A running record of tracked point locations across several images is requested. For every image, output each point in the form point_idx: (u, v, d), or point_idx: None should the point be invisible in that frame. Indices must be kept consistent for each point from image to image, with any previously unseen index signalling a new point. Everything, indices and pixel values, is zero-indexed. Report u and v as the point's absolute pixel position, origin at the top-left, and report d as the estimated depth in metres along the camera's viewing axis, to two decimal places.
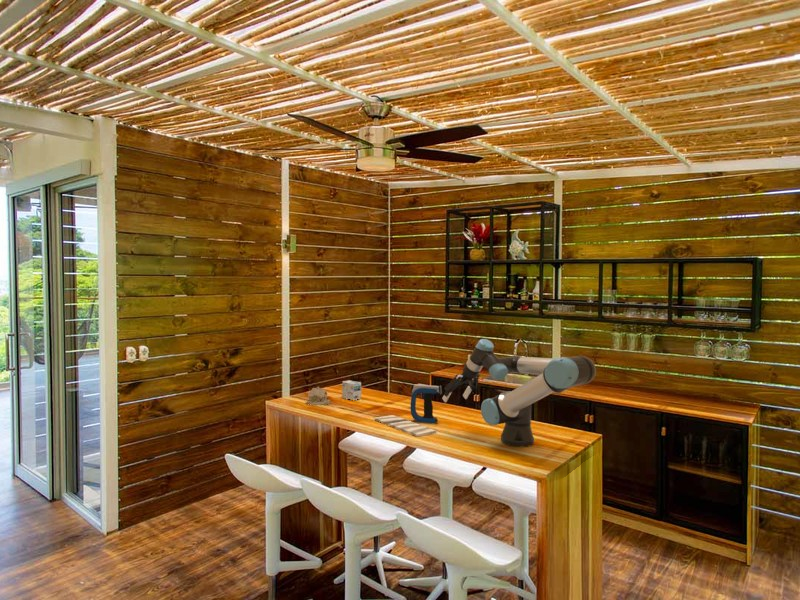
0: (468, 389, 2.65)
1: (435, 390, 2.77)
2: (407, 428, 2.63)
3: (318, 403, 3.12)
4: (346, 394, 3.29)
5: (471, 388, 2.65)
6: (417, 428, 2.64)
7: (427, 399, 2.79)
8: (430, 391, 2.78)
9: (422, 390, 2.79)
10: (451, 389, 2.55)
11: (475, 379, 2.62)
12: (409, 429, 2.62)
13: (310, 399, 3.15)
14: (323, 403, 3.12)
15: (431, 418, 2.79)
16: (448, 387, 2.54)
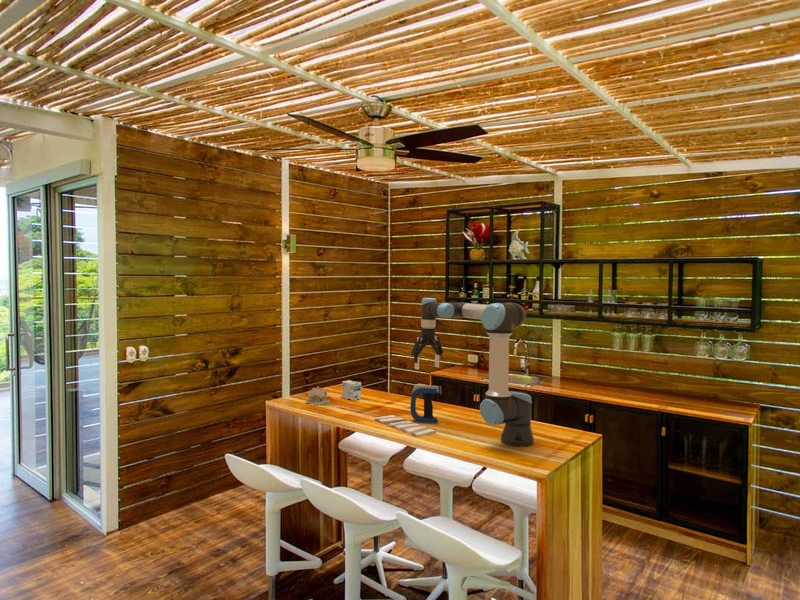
0: (436, 356, 2.84)
1: (435, 390, 2.77)
2: (407, 428, 2.63)
3: (318, 403, 3.12)
4: (346, 394, 3.29)
5: (438, 354, 2.84)
6: (417, 428, 2.64)
7: (427, 399, 2.79)
8: (430, 391, 2.78)
9: (422, 390, 2.79)
10: (417, 353, 2.75)
11: (437, 343, 2.83)
12: (409, 429, 2.62)
13: (310, 399, 3.15)
14: (323, 403, 3.12)
15: (431, 418, 2.79)
16: (413, 351, 2.74)
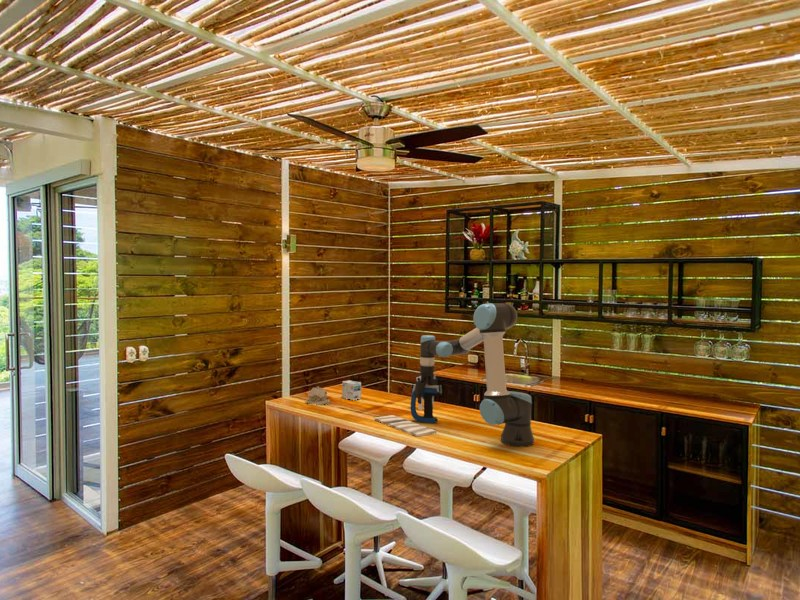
0: None
1: (435, 389, 2.78)
2: (407, 428, 2.63)
3: (318, 403, 3.13)
4: (346, 394, 3.29)
5: None
6: (417, 428, 2.64)
7: (428, 399, 2.80)
8: (430, 390, 2.79)
9: None
10: (420, 394, 2.77)
11: (434, 382, 2.83)
12: (409, 429, 2.62)
13: (310, 399, 3.16)
14: (323, 403, 3.13)
15: (431, 418, 2.79)
16: (416, 392, 2.76)
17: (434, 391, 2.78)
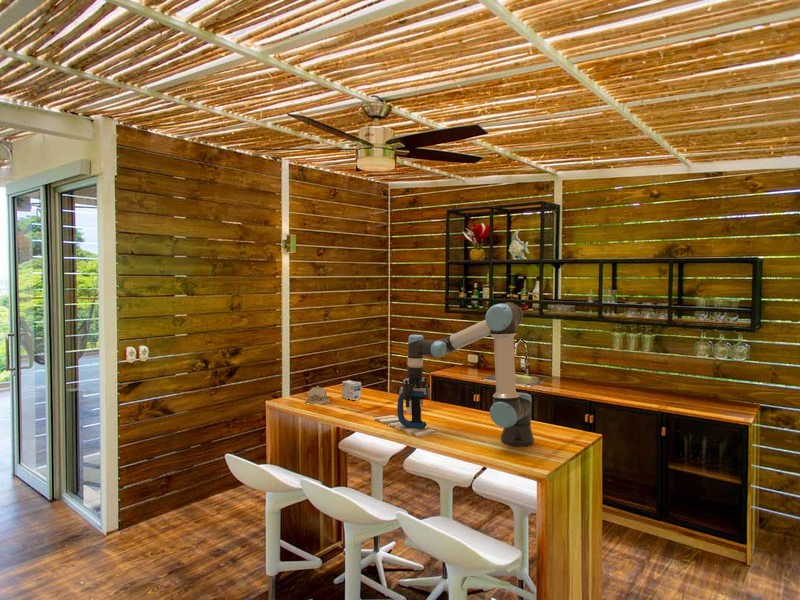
0: None
1: (422, 393, 2.62)
2: (407, 428, 2.63)
3: (318, 402, 3.14)
4: (346, 394, 3.29)
5: None
6: (417, 428, 2.64)
7: (415, 402, 2.64)
8: (417, 394, 2.62)
9: None
10: (408, 397, 2.61)
11: (423, 384, 2.67)
12: (409, 429, 2.62)
13: (310, 398, 3.16)
14: (323, 402, 3.14)
15: (419, 422, 2.63)
16: (404, 395, 2.60)
17: (421, 394, 2.62)
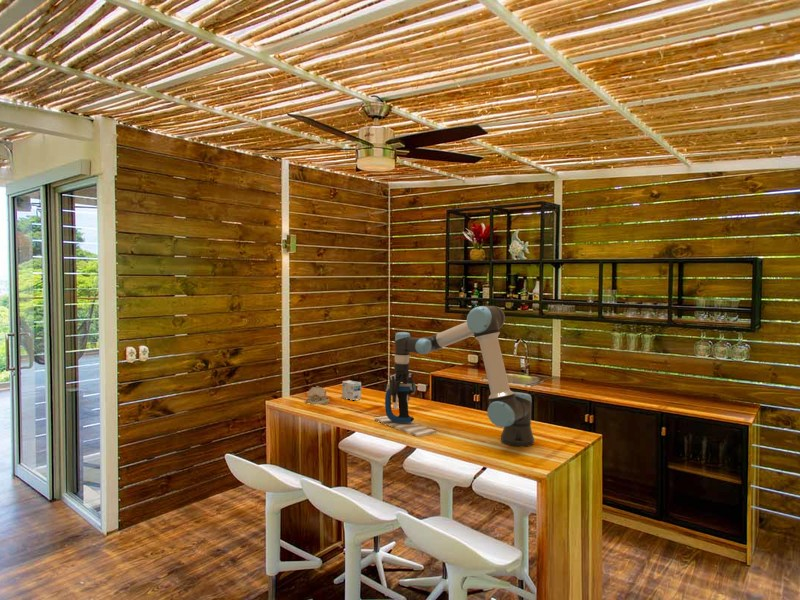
0: None
1: (408, 387, 2.71)
2: (407, 428, 2.63)
3: (318, 402, 3.15)
4: (346, 394, 3.29)
5: None
6: (417, 428, 2.64)
7: (402, 397, 2.72)
8: (403, 389, 2.71)
9: None
10: (395, 392, 2.70)
11: (409, 380, 2.76)
12: (409, 429, 2.62)
13: (310, 398, 3.17)
14: (323, 402, 3.15)
15: (406, 417, 2.71)
16: (391, 391, 2.69)
17: (407, 389, 2.71)
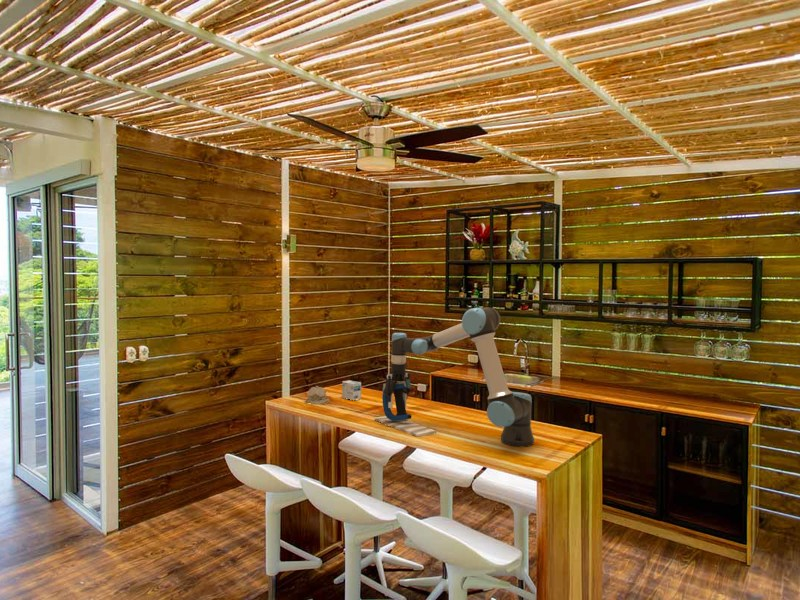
0: (403, 395, 2.78)
1: (402, 384, 2.72)
2: (407, 428, 2.63)
3: (318, 402, 3.15)
4: (346, 394, 3.29)
5: (405, 392, 2.78)
6: (417, 428, 2.64)
7: (397, 395, 2.74)
8: (398, 386, 2.73)
9: None
10: (390, 392, 2.71)
11: None
12: (409, 429, 2.62)
13: (310, 398, 3.17)
14: (323, 402, 3.16)
15: (403, 414, 2.71)
16: (386, 390, 2.71)
17: (401, 386, 2.72)
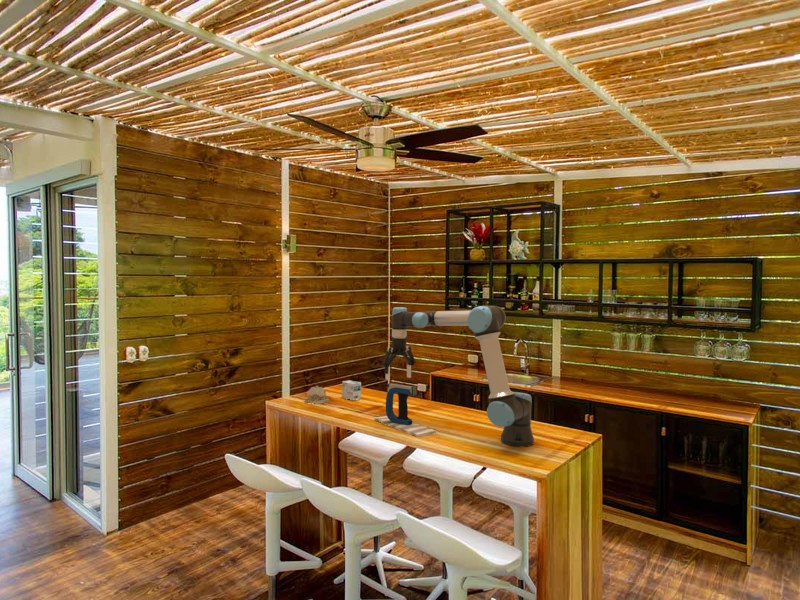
0: (408, 367, 2.79)
1: (408, 391, 2.68)
2: (407, 428, 2.63)
3: (318, 402, 3.16)
4: (346, 394, 3.29)
5: (410, 364, 2.79)
6: (417, 428, 2.64)
7: (401, 399, 2.71)
8: (403, 391, 2.69)
9: (396, 390, 2.71)
10: (388, 363, 2.70)
11: (409, 353, 2.78)
12: (409, 429, 2.62)
13: (309, 398, 3.17)
14: (323, 401, 3.16)
15: (404, 419, 2.70)
16: (384, 361, 2.69)
17: (407, 392, 2.68)
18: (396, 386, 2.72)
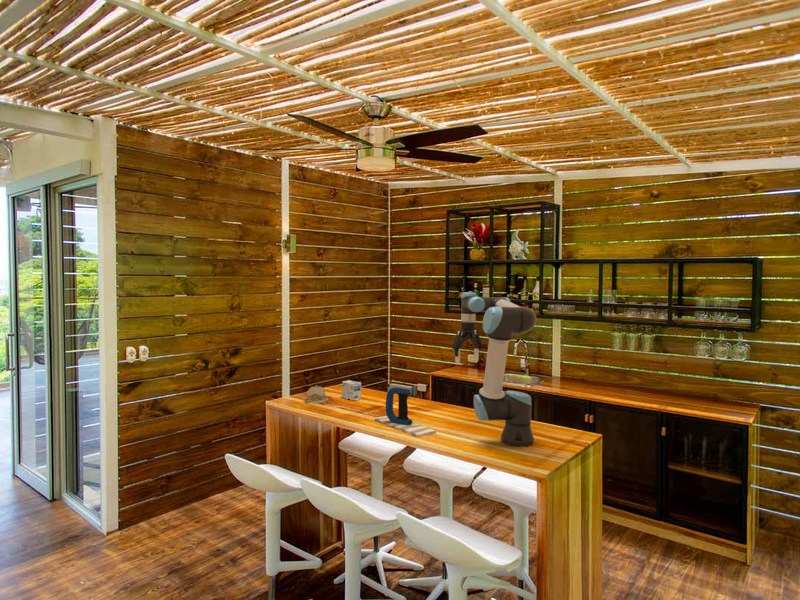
0: (475, 350, 2.87)
1: (408, 391, 2.68)
2: (407, 428, 2.63)
3: (318, 401, 3.16)
4: (346, 394, 3.29)
5: (477, 348, 2.87)
6: (417, 428, 2.64)
7: (401, 399, 2.71)
8: (403, 391, 2.69)
9: (396, 390, 2.71)
10: (458, 346, 2.78)
11: (476, 337, 2.86)
12: (409, 429, 2.62)
13: (309, 398, 3.18)
14: (323, 401, 3.17)
15: (404, 419, 2.70)
16: (454, 344, 2.77)
17: (407, 392, 2.68)
18: (396, 386, 2.72)
